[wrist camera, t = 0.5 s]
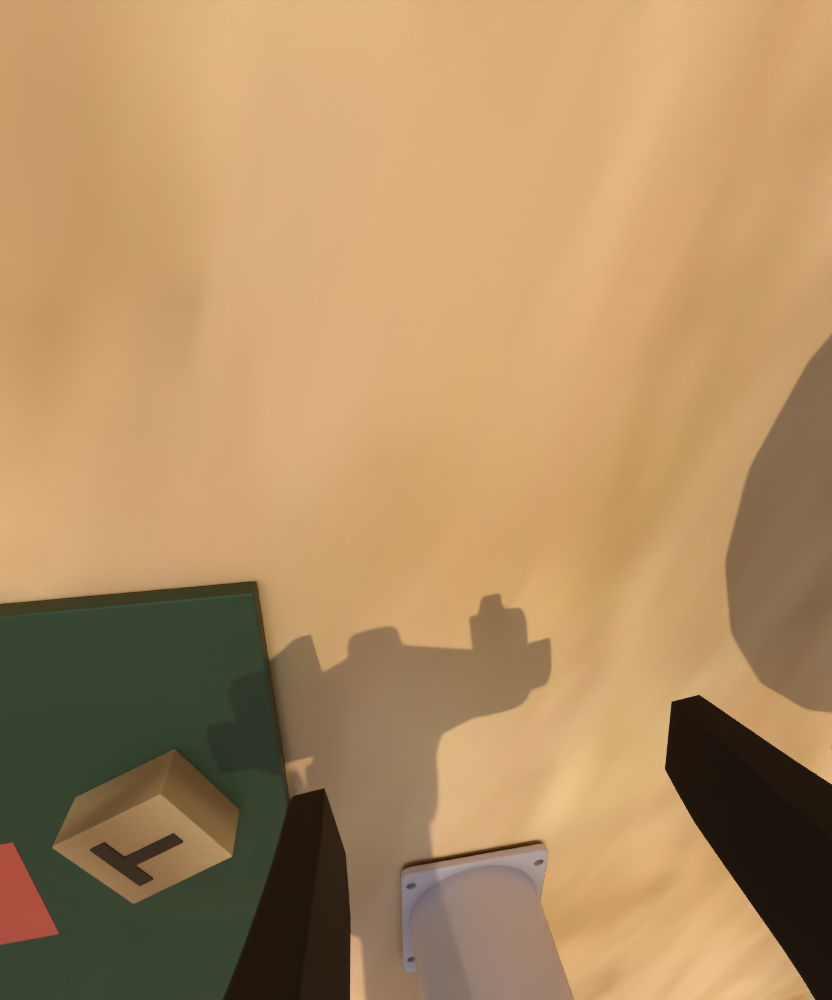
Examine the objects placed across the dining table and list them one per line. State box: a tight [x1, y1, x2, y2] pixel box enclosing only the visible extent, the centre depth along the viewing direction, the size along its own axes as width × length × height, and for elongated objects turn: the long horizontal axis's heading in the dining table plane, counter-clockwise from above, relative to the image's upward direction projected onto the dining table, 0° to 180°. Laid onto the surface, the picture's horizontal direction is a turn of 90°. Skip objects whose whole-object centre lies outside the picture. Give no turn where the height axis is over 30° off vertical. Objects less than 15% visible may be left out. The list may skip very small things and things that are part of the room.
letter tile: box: [52, 749, 239, 904], centre depth 20 cm, size 4×4×2 cm
